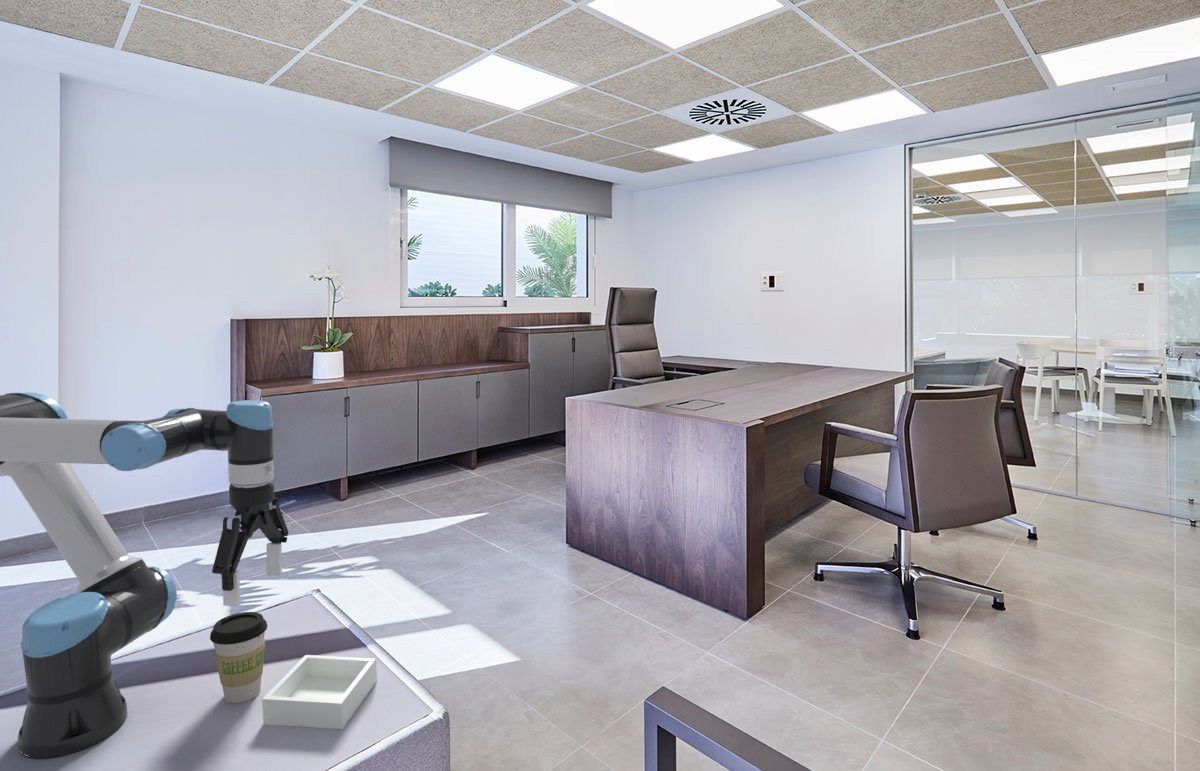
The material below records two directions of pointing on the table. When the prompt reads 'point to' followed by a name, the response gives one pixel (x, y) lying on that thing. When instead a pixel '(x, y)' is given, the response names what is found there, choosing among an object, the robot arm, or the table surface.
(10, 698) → the table surface
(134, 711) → the table surface
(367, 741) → the table surface
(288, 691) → the bin
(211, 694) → the table surface
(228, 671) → the coffee cup
